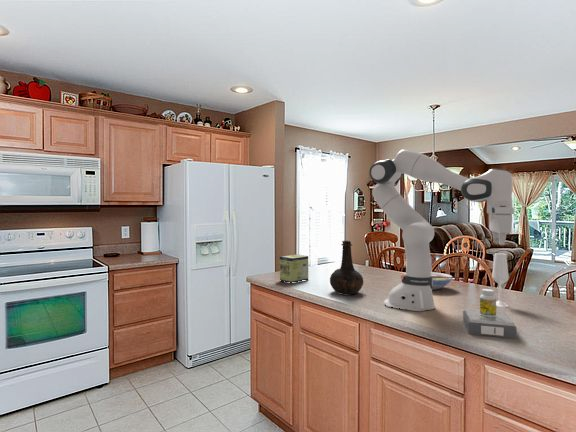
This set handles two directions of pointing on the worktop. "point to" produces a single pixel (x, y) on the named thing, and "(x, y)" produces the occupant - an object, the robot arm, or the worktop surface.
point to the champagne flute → (500, 274)
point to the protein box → (293, 268)
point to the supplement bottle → (488, 303)
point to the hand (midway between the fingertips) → (498, 243)
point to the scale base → (489, 329)
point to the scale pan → (489, 318)
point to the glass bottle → (346, 274)
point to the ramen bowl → (440, 280)
